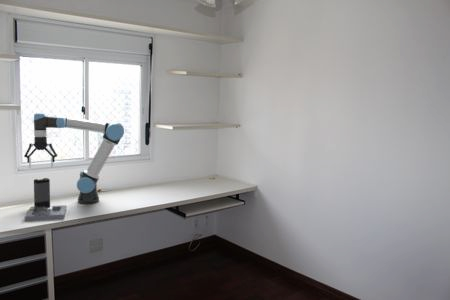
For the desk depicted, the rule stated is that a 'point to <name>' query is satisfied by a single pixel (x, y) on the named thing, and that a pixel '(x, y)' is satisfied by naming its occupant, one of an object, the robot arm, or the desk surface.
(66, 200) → the desk surface
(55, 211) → the chassis
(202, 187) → the desk surface
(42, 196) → the electronic device
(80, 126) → the robot arm
